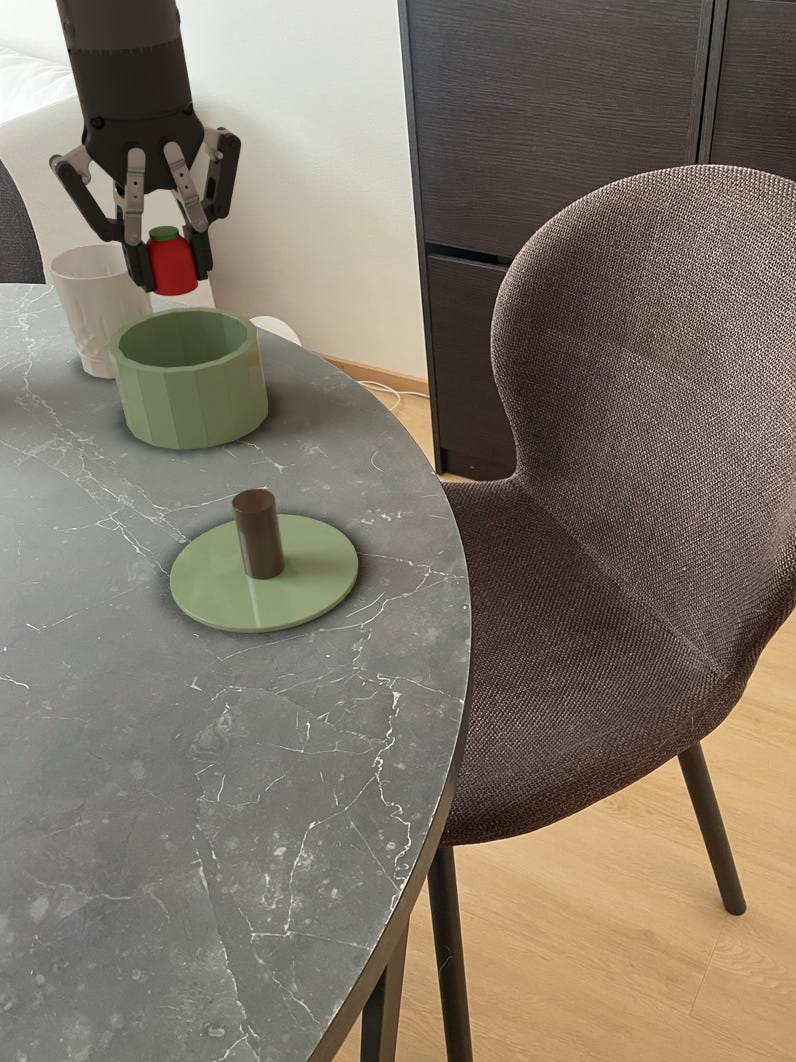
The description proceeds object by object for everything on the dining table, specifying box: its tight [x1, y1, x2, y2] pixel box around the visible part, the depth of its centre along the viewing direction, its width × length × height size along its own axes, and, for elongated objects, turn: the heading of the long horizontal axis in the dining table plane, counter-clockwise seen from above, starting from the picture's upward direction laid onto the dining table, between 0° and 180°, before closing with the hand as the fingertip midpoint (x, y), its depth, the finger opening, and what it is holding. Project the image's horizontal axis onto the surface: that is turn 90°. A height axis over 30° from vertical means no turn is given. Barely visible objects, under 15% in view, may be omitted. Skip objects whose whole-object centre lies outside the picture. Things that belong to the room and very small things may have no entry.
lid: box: [169, 488, 359, 634], centre depth 70 cm, size 13×13×7 cm
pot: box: [108, 306, 269, 451], centre depth 86 cm, size 12×12×8 cm
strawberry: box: [145, 225, 199, 297], centre depth 79 cm, size 4×4×4 cm
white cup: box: [48, 242, 155, 380], centre depth 92 cm, size 8×8×10 cm
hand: (173, 281), depth 81 cm, fingers closed on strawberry, 3 cm apart
